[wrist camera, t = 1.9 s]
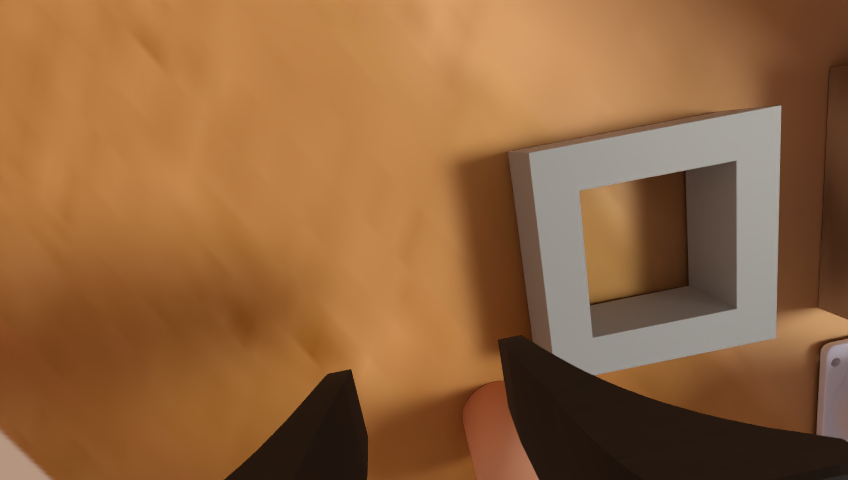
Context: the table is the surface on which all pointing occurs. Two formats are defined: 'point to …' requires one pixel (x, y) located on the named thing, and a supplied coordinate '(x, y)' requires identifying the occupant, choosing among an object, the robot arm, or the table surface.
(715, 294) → the socket block
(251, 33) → the table surface
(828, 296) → the walnut wall
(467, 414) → the peach egg shape
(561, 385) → the robot arm
